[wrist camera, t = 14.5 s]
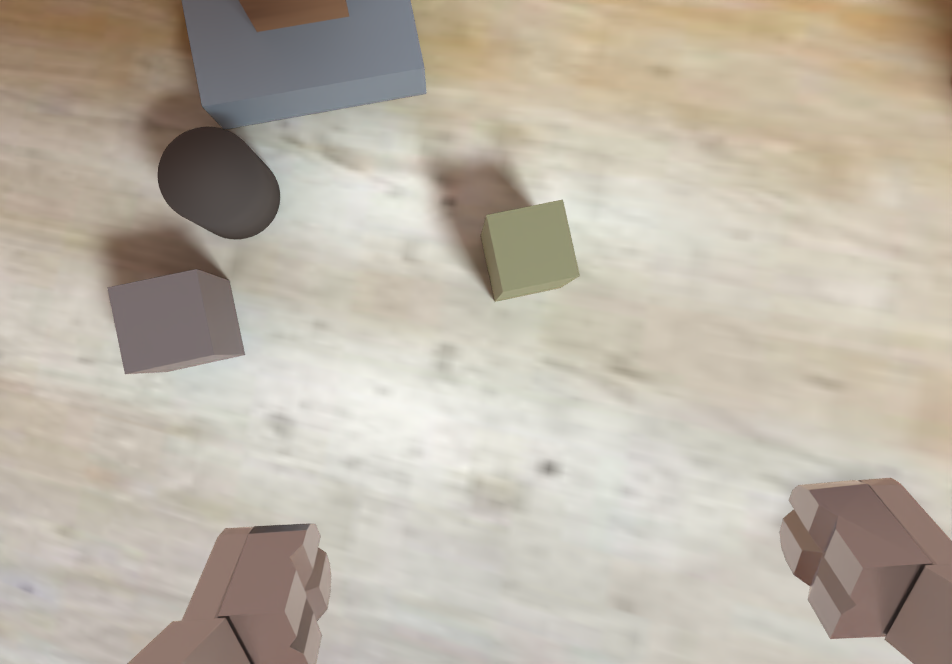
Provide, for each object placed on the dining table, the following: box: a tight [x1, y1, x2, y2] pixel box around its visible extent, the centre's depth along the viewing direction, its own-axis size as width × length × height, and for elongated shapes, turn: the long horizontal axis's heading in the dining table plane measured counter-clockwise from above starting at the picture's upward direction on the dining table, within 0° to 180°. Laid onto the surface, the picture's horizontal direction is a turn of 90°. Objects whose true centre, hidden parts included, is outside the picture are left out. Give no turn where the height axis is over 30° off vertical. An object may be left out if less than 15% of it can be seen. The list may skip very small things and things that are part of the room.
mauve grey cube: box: [108, 269, 245, 374], centre depth 30 cm, size 4×4×4 cm
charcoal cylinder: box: [158, 127, 280, 239], centre depth 31 cm, size 5×5×4 cm
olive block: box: [481, 200, 580, 302], centre depth 31 cm, size 4×4×5 cm
